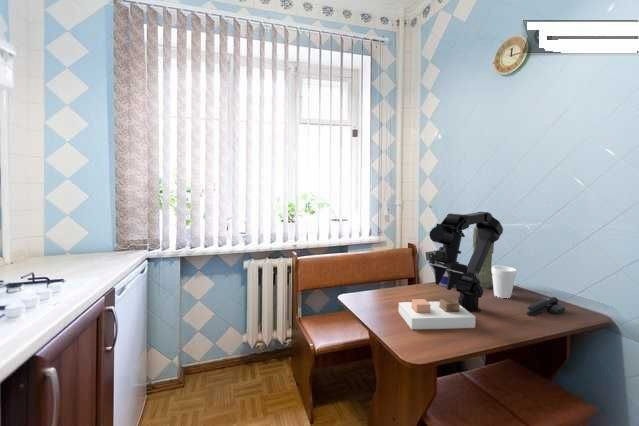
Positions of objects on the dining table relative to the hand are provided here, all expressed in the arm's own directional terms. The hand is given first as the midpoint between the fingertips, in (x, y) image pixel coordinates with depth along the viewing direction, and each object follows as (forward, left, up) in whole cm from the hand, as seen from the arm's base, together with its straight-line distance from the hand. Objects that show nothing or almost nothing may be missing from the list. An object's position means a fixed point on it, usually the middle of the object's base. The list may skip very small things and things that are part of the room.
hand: (442, 287), depth 107 cm
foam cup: (-39, -21, -13) cm, 46 cm away
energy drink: (-20, -36, -13) cm, 43 cm away
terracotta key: (+8, 0, -9) cm, 13 cm away
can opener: (-43, -3, -13) cm, 45 cm away
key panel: (+3, 0, -12) cm, 13 cm away
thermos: (-38, -35, -13) cm, 53 cm away
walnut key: (-3, 0, -9) cm, 10 cm away
